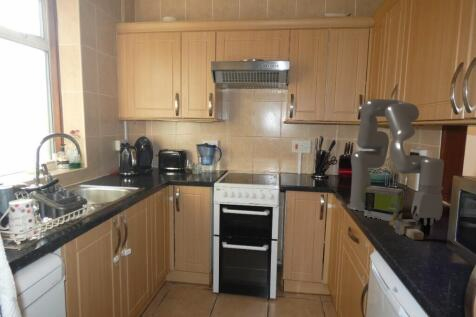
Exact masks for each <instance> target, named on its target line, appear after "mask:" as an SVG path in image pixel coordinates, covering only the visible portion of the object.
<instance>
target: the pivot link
mask: <svg viewBox="0 0 476 317" xmlns="http://www.w3.org/2000/svg"><path fill="white" fill-rule="evenodd" d="M398 216H399V213H394V215H393V218H390V219H389V221H388V226H390V227H392V228H394V229H395V224H396V219H398ZM405 235H406V236H407V237H408V238H410V239H411V240H419V241H422V240H424V236H425V235H424V233H423V232H421V231H420V229H418V228H416V227H414V226H413V225H405V232H404V236H405Z"/></svg>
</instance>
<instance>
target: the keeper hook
mask: <svg viewBox="0 0 476 317" xmlns="http://www.w3.org/2000/svg"><path fill="white" fill-rule="evenodd" d="M418 224H419V221H418V220H415V219H413V218H412V219H411V218H410V219H409V218H408V219H405V218H404V219H403V218H402V219H396V224H395V228H394V233H395V232H396V233H395V234H397V233H398V234H399V235H398V234H397V235H398V236H405V234H404V232H405V225H410V226H418Z"/></svg>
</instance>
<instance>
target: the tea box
mask: <svg viewBox="0 0 476 317" xmlns="http://www.w3.org/2000/svg"><path fill="white" fill-rule="evenodd" d="M404 192H405V191H404V189H401V188H394V187H387V186H378V185H371V186H370V187H368V188H366V193H365V211H363V213H364V217H365V216H367V217H366V218H370V217H372V219H375V218H377V219H376V220H380V219H381V221H385V222H389V219H390V218H393V215H394V213H399V216H398V219H403V208H404V207H403V205H404Z"/></svg>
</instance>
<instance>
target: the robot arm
mask: <svg viewBox="0 0 476 317" xmlns="http://www.w3.org/2000/svg"><path fill="white" fill-rule="evenodd" d="M360 107H361V108H360V125H359V129H358V135H357V141H356V143H357V147H358V148H360V149H363V150H357V151H355V152H353V153H352V155H351V157H350V164H351V188H350V198H349V200H350V203H348V204H347V208H348V209H349V210H352V211H356V210H358V212H365V193H366V188H368V187H370V186H372V185H371V182H372V176H371V173H370V171H369V170H368V169H380V168H382V167H383V166H384V165H385V163H386V160H387V154H388V150H389V155H390V158H391V162H392V164H393V166H394V168H395V170H396V171H397V172H398V173H400V174H419V178H418V188H417V189H418V190H417V191H415V193H414V196H413V199H412V204H411V210H410V213H411V215H412V219H413V220H415V221H417V222H418V223H419V224H420V229H419V231H421V232H423V233H424V236H431V235H430V233H431V229H432V228H431V226H433V224H434V223H435V222H436V221H439V220H441V217H442V215H443V209H444V204H443V203H444V202H443V201H444V199H443V194H442V191H443V190H444V186H442V185H443V176H444V168H445V167H444V166H445V162H444V160H443V159H440V158H438V157H436V158H435V157H430V156H427V155H421V154H420V155H414V154H413V155H406V152H405V150H404V141H407V140H409V139H411V138H412V137H414V135H415V134H416V133H415V132H416V131H415V128H414V126H413V123H414V122H415V121H416V120H418V119H419V116H420V112H419V111H420V110H419V108H418V107H417V106H416V105H415V104H414V103H409V102H406V101H404V100H403V101H402V100H399V99H386V98H385V99H383V98H373V99H369V100H366V101H365V102H363V104H362V106H360ZM377 117H378V118H379V117H383V118H385V119H386V122H387V124H388V127H389V129H390V132H391V134H392V137H393V140H392V141H391V144H390V137H389V135H388V133H387V132H385V131H381V130H378V128H379V121H378V119H377ZM389 146H390V148H389Z"/></svg>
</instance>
